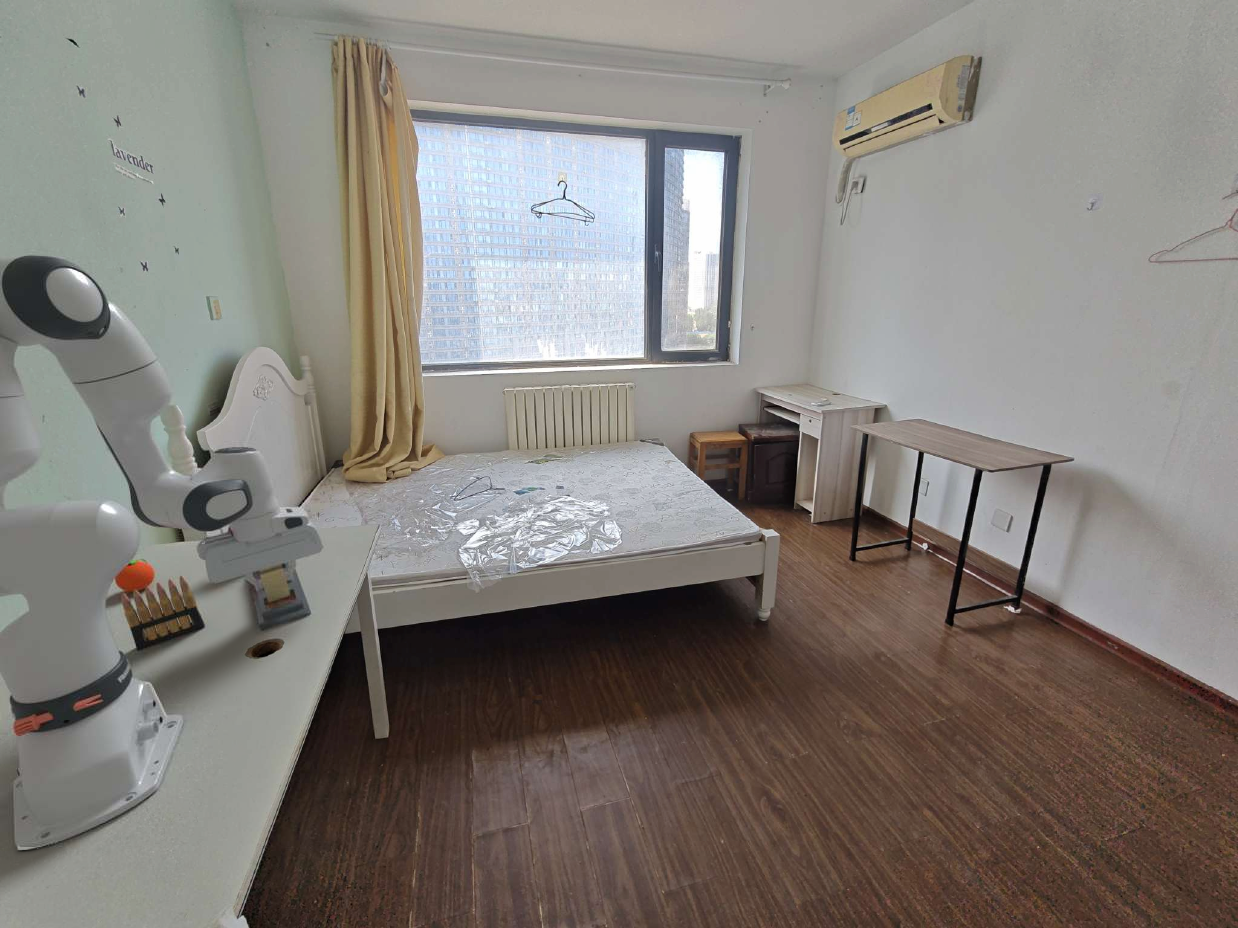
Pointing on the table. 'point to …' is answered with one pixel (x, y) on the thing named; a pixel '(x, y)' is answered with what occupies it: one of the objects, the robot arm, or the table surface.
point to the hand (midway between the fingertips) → (275, 584)
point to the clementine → (135, 576)
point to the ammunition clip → (162, 615)
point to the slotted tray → (280, 603)
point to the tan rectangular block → (274, 583)
